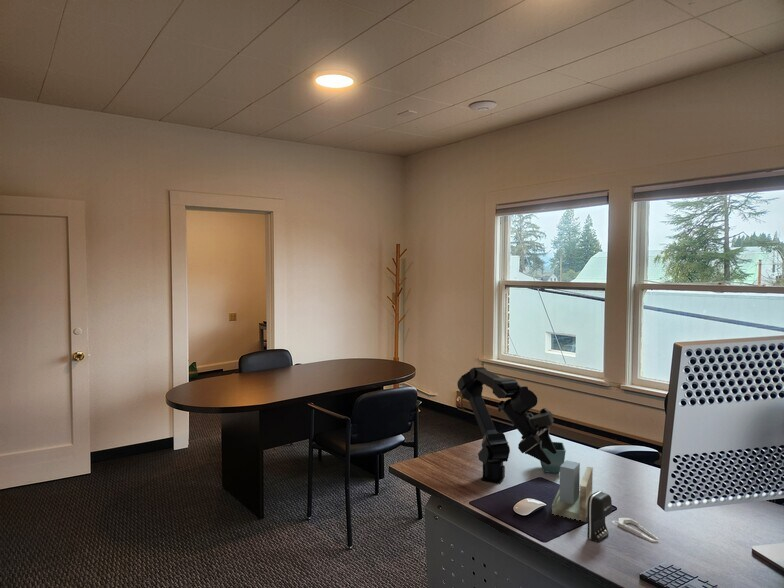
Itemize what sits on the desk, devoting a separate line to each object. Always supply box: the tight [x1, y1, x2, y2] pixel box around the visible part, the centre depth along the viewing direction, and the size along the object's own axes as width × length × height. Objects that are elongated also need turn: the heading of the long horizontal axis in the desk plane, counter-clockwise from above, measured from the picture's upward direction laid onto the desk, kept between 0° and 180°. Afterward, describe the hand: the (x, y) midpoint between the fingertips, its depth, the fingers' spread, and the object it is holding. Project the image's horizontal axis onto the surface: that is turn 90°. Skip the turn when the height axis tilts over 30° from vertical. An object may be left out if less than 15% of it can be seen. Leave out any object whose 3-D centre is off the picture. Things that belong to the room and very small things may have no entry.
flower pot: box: [539, 441, 567, 474], centre depth 178 cm, size 9×9×9 cm
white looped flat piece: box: [611, 517, 659, 543], centre depth 136 cm, size 13×5×2 cm, turn 31°
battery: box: [587, 490, 613, 542], centre depth 132 cm, size 7×4×11 cm, turn 131°
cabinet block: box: [559, 459, 581, 505], centre depth 150 cm, size 5×6×10 cm
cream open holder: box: [551, 466, 594, 523], centre depth 149 cm, size 9×16×10 cm, turn 152°
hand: (552, 458), depth 153 cm, fingers open, 9 cm apart
